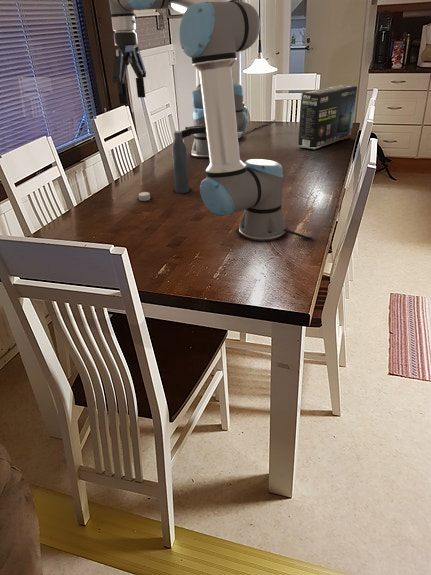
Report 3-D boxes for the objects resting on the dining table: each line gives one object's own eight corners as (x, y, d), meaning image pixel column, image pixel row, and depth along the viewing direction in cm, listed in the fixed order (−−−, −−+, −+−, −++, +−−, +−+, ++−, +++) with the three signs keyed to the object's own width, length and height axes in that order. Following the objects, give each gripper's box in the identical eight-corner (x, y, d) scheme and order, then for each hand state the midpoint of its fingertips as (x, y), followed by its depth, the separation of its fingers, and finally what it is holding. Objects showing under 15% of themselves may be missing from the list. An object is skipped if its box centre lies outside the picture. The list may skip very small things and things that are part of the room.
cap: (140, 197, 183) (139, 192, 182) (151, 196, 182) (150, 191, 181) (138, 200, 179) (137, 195, 178) (149, 200, 179) (148, 195, 178)
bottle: (187, 193, 185) (183, 133, 173) (174, 193, 185) (168, 133, 173) (190, 188, 190) (186, 130, 178) (176, 188, 190) (172, 130, 178)
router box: (314, 151, 231) (318, 94, 217) (296, 148, 237) (299, 92, 224) (352, 138, 251) (358, 85, 238) (335, 135, 258) (340, 83, 245)
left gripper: (247, 138, 195) (219, 150, 180) (200, 132, 207) (170, 142, 192) (247, 119, 191) (219, 130, 176) (199, 114, 203) (168, 124, 188)
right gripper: (116, 33, 140) (125, 107, 151) (151, 29, 160) (157, 94, 171) (94, 34, 142) (105, 106, 153) (132, 30, 162) (139, 94, 173)
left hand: (193, 136), depth 184 cm, fingers open, 13 cm apart
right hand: (133, 100), depth 162 cm, fingers open, 13 cm apart
